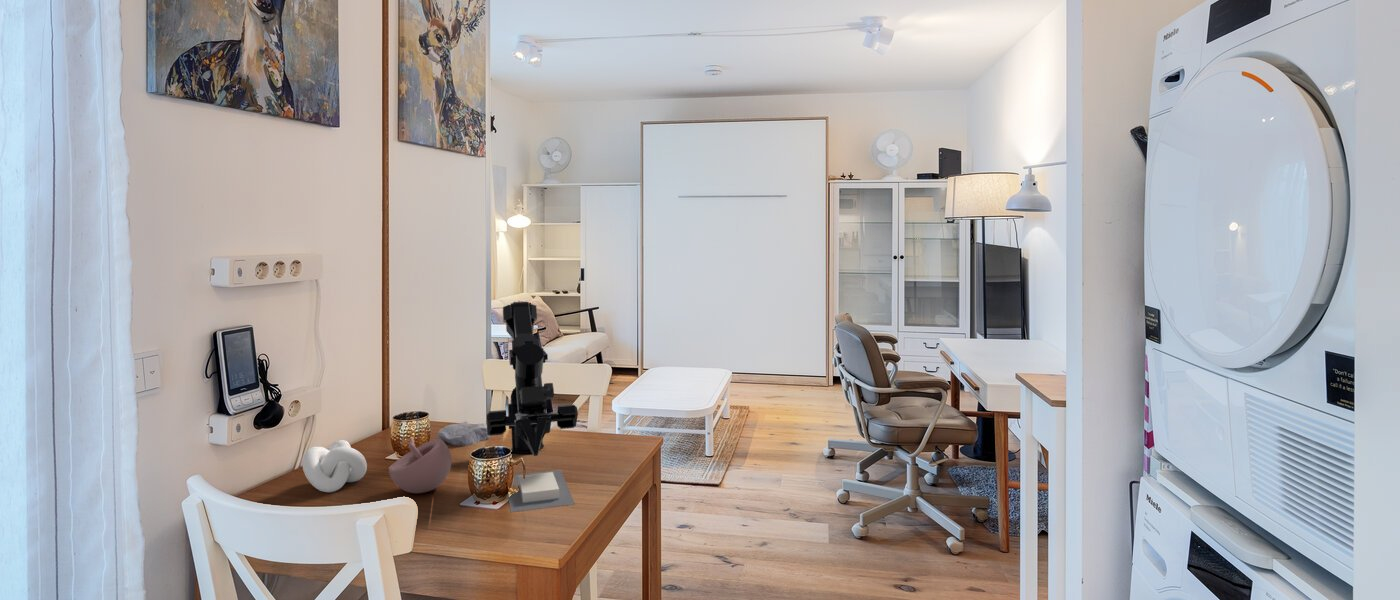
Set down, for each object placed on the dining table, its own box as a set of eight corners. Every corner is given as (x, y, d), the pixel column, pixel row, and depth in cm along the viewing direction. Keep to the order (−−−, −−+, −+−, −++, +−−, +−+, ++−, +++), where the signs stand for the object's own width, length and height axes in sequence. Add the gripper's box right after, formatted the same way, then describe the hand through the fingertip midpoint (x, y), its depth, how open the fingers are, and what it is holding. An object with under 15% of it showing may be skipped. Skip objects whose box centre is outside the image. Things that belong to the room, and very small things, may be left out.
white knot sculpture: (296, 485, 149) (294, 443, 148) (357, 472, 156) (355, 433, 156) (307, 499, 140) (305, 455, 139) (371, 485, 148) (369, 444, 147)
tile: (518, 475, 145) (522, 493, 135) (552, 471, 147) (559, 488, 137) (518, 485, 145) (522, 503, 135) (552, 481, 148) (559, 498, 137)
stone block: (465, 454, 175) (494, 437, 184) (460, 437, 174) (490, 420, 182) (434, 449, 181) (463, 433, 190) (429, 432, 180) (460, 417, 189)
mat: (504, 477, 151) (504, 475, 151) (560, 471, 155) (560, 469, 155) (510, 514, 131) (510, 512, 131) (575, 506, 134) (575, 503, 134)
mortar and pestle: (391, 486, 147) (389, 432, 146) (452, 478, 151) (449, 427, 150) (388, 505, 136) (385, 448, 135) (453, 497, 140) (450, 441, 139)
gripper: (485, 373, 145) (488, 439, 135) (575, 367, 151) (584, 430, 141) (485, 402, 153) (488, 467, 143) (571, 396, 159) (579, 457, 149)
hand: (535, 454), depth 144 cm, fingers closed
